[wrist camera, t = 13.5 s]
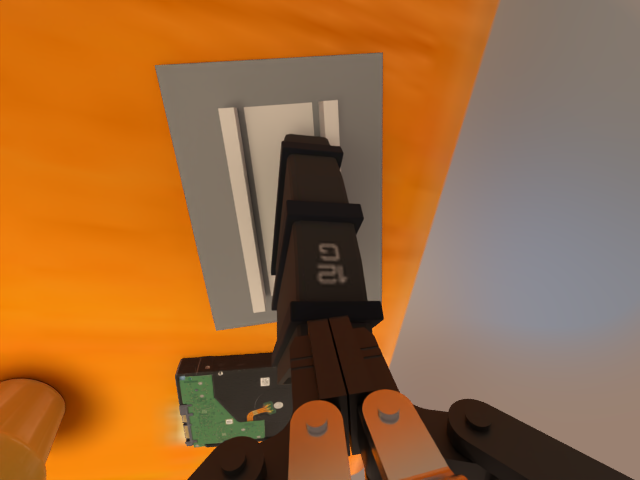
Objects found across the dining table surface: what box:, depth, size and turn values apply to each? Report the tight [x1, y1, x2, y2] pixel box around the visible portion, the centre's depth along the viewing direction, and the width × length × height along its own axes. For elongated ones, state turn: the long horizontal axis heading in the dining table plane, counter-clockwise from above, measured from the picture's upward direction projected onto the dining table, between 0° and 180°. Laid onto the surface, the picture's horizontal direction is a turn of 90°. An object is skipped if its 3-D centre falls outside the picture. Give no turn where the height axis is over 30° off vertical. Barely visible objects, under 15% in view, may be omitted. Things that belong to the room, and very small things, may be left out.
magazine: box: [271, 134, 384, 385], centre depth 21 cm, size 4×13×15 cm
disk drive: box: [175, 353, 293, 447], centre depth 34 cm, size 10×3×15 cm
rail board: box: [155, 53, 383, 331], centre depth 26 cm, size 22×16×4 cm
